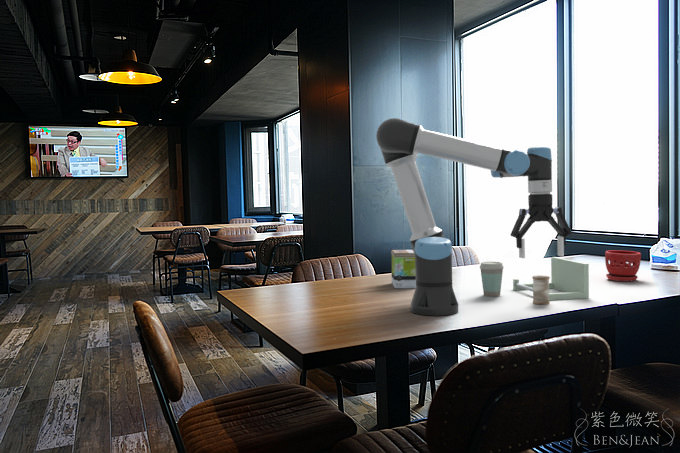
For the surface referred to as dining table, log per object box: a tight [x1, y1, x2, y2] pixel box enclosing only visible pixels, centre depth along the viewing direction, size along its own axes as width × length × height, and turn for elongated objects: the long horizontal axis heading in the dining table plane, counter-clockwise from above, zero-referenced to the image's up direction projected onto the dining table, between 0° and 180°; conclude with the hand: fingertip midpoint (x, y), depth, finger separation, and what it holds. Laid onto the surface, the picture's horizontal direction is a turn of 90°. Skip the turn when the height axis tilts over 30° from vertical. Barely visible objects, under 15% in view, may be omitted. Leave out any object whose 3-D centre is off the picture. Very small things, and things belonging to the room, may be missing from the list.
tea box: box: [390, 249, 416, 289], centre depth 224 cm, size 15×10×15 cm
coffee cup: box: [479, 261, 504, 298], centre depth 197 cm, size 8×8×12 cm
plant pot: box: [604, 249, 642, 282], centre depth 222 cm, size 13×13×12 cm
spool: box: [531, 275, 551, 306], centre depth 180 cm, size 5×5×9 cm
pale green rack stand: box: [512, 256, 590, 301], centre depth 197 cm, size 17×23×12 cm
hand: (541, 256), depth 179 cm, fingers open, 13 cm apart
